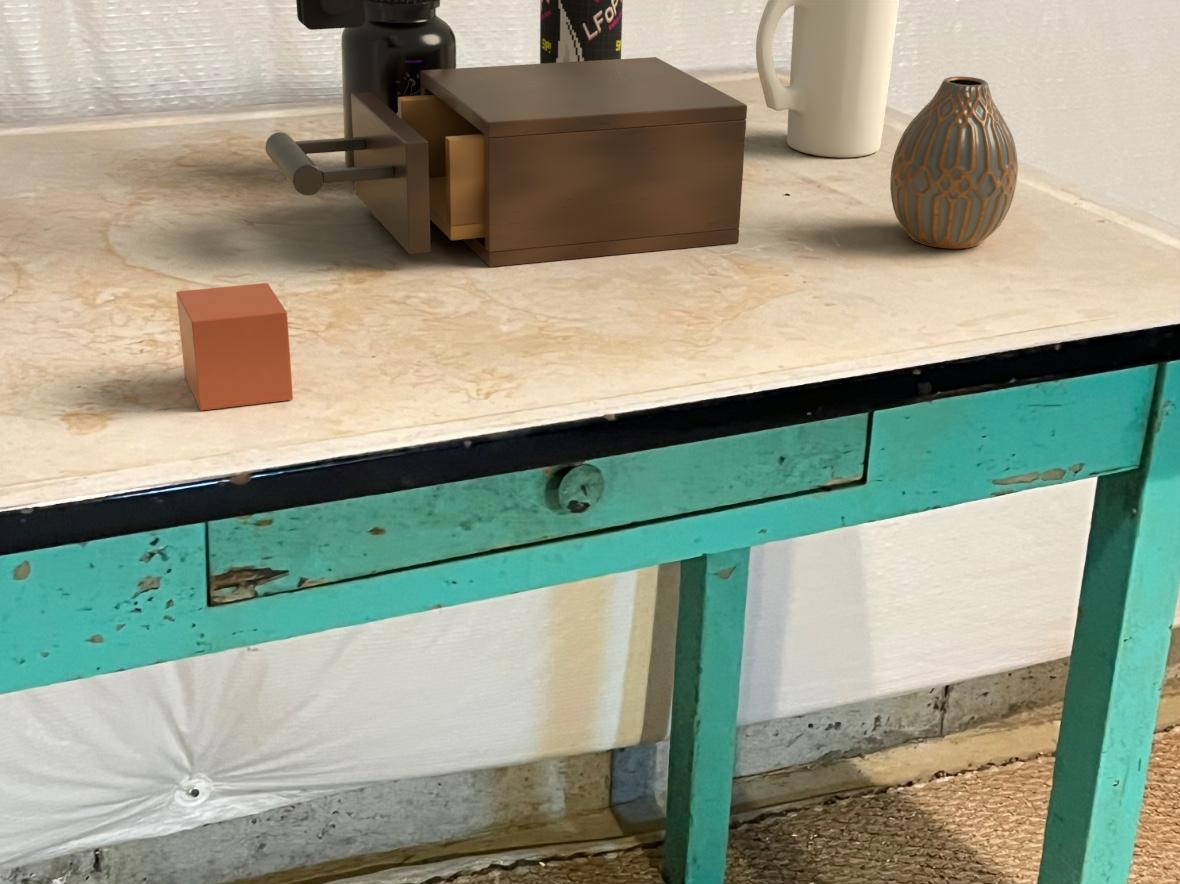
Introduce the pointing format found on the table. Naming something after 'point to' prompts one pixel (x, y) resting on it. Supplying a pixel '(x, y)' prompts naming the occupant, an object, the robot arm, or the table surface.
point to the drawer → (401, 167)
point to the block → (235, 346)
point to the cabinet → (599, 157)
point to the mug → (831, 73)
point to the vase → (954, 168)
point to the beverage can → (580, 30)
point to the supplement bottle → (393, 53)
